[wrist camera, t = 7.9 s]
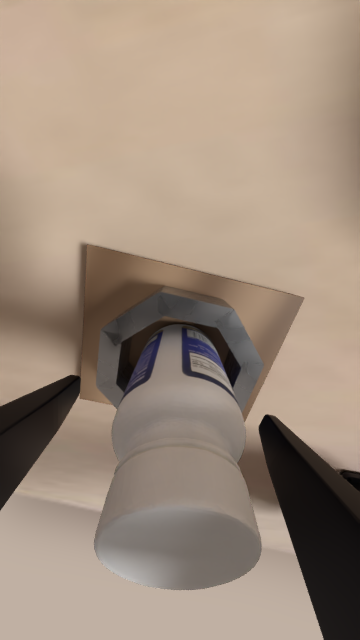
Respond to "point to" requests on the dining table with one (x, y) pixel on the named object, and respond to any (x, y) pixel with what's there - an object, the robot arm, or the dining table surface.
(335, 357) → the dining table surface
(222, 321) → the ring collar
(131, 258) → the tan board
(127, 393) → the pill bottle
